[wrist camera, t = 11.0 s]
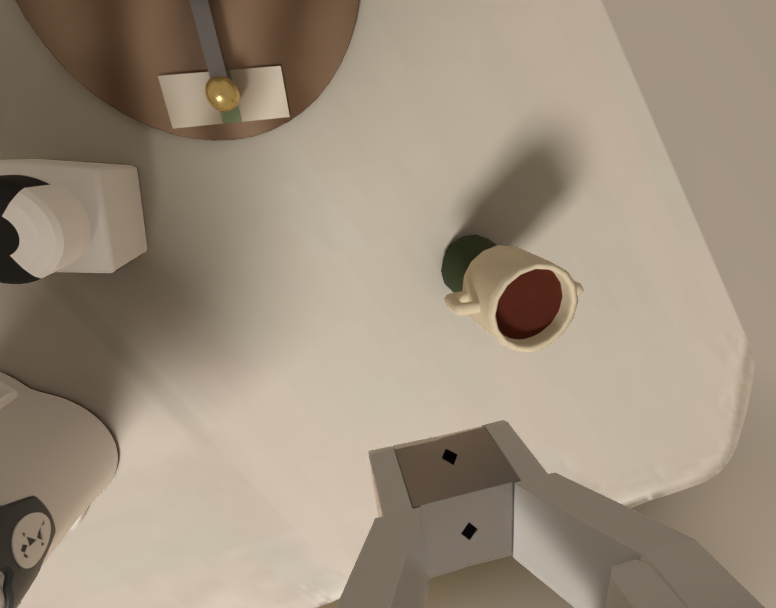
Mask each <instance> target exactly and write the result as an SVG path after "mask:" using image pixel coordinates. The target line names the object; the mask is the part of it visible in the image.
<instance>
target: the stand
mask: <svg viewBox="0 0 776 608" xmlns="http://www.w3.org/2000/svg"><path fill="white" fill-rule="evenodd" d="M16 1H17V3H18V5H19V7H20V8H21V10H22V12H23V14H24V15H25V17H26V19H27V20H28V22H29V23H30V25H31V26H32V27H33V29H34V30H35V32H36V33H37V35H38V36H39V37H40V39H41V40H42V42H43V43H44V44H45V45H46V47H47V48H48V49H49V50H50V51H51V52H52V54H53V55H54V56H55V57H56V58H57V59H58V61H59V62H60V63H61V64H62V65H63V66H64V67H65V68H66V69H67V70H68V71H69V72H70V73H71V74H72V75H73V76H74V77H75V78H76V79H77V80H78V81H79V82H81V83H82V84H83V85H84V86H85V87H86V88H88V89H89V90H90V91H92V92H93V93H94V94H95V95H97V96H98V97H99V98H101V99H102V100H103V101H105V102H106V103H108V104H109V105H111V106H112V107H114V108H116V109H117V110H119V111H120V112H122V113H124V114H125V115H127V116H129V117H131V118H133V119H135V120H137V121H140V122H142V123H144V124H146V125H148V126H151V127H153V128H156V129H159V130H162V131H165V132H168V133H171V134H175V135H180V136H184V137H189V138H195V139H205V140H235V139H241V138H246V137H252V136H256V135H259V134H262V133H265V132H268V131H271V130H273V129H275V128H277V127H279V126H281V125H283V124H285V123H287V122H289V121H290V120H292V119H293V118H294V117H296V116H297V115H299V114H300V113H302V112H303V111H304V110H305V109H306V108H307V107H308V106H310V105H311V104H312V103H313V102H314V101H315V100H316V99H317V98H318V97H319V95H320V94H321V93H322V92H323V90H324V89H325V88H326V87H327V85H328V84H329V83H330V81H331V80H332V78H333V76H334V74H335V73H336V71H337V69H338V68H339V66H340V64H341V62H342V59H343V57H344V55H345V52H346V50H347V48H348V45H349V43H350V39H351V36H352V32H353V29H354V25H355V22H356V16H357V10H358V4H359V0H209V1H210V5H211V9H212V13H213V17H214V21H215V25H216V29H217V33H218V37H219V41H220V45H221V49H222V53H223V57H224V60H225V64H226V68H227V72H228V76H229V79H231V80H232V81H233V82H234V83H235V85H236V86H237V88H238V90H239V94H240V100H239V103H238V105H237V107H236V108H235V109H234V110H232V111H230V112H221V111H218V110H216V109H214V108H213V107H212V106H211V105H210V104H209V103H208V101H207V99H206V97H205V91H204V90H205V85H206V82H207V81H208V80H209V79H210V76H209V72H208V68H207V65H206V61H205V57H204V53H203V50H202V46H201V42H200V39H199V35H198V31H197V27H196V24H195V20H194V16H193V12H192V9H191V5H190V1H189V0H16Z"/></svg>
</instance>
